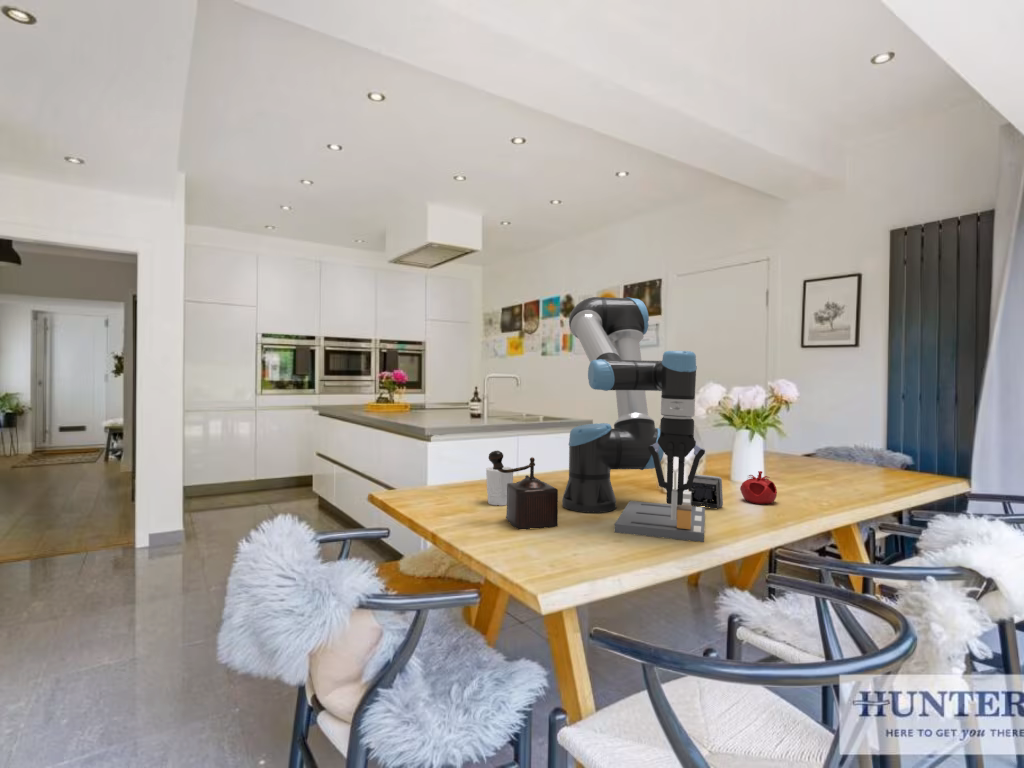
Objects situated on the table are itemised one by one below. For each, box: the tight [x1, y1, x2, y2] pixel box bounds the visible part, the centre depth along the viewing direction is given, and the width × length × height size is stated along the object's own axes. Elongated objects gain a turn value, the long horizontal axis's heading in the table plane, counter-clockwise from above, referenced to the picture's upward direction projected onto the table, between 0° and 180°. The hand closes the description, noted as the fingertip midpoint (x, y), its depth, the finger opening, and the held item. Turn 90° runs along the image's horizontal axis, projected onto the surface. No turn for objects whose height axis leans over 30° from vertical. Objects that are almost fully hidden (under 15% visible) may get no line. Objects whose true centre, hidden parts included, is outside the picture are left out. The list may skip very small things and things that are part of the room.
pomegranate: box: [739, 470, 778, 505], centre depth 161 cm, size 10×10×9 cm
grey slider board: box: [614, 490, 706, 543], centre depth 136 cm, size 20×26×6 cm
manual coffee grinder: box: [488, 450, 559, 530], centre depth 134 cm, size 16×11×18 cm
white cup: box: [485, 466, 514, 507], centre depth 156 cm, size 8×8×10 cm
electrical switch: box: [687, 473, 724, 510], centre depth 154 cm, size 9×5×9 cm, turn 57°
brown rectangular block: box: [677, 505, 692, 529], centre depth 125 cm, size 3×4×5 cm
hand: (674, 518), depth 125 cm, fingers closed
